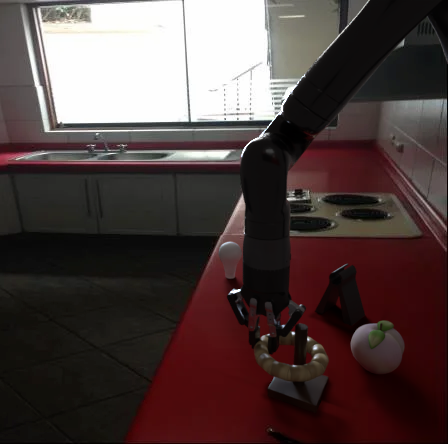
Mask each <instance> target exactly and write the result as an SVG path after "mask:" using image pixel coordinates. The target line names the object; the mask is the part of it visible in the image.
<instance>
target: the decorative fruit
mask: <svg viewBox="0 0 448 444" xmlns="http://www.w3.org/2000/svg"><path fill="white" fill-rule="evenodd" d="M394 327H395V325H394V324H393V322H391V321H389V320H380V321H378V322H377V323H366V324H363V325H361V326H359V327H358V328H356V330H355V332H354V333H353V334H352V337H351V341H350V350H351V353H352V356H353V357H354V359H355V360H356V362H357V363H358V364H359V365H360V366H361V367H362V368H363V369H364V370H365V371H367V372H369V373H371V374H375V375H387V374H390V373H392V372H394V371H395V370H396V369H397V368H399V366H400V364H401V363H402V360H403V355H404V351H405V341H404V338H403V337H402V335H401V334H400V332H399V331H397V329H396V328H394Z"/></svg>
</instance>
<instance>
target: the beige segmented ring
mask: <svg viewBox="0 0 448 444" xmlns="http://www.w3.org/2000/svg"><path fill="white" fill-rule="evenodd" d="M268 336H269V333H267V334H265V335H262V336H260V339H259V341H258V342H257V343H256V345H255V346H254V349H253V354H254V359H255V363H256V364H257V365H258V366H259V367H260V368H261V369H262V370H264V371H265V372H266V373H267V374H268V375H270V376H272V377H273V378H274V377H277V378H280V379H283V380H286V381H298V382H306V381H310V380H312V379H314V378H317V377H319V376H321V375H324V374H325V372H326V370H327V367H328V365H329V362H330V359H329V356H328V355H327V352H326V349H325V348H324V346H323V345H322V344H321V343H319V342H318V341H316V340H315V339H313V338H312V337H310V336H309V335H308V337H307V354H309V355H310V356H311V360H310V362H308V363H307V362H306V364H305V365H293V364H289V365H287V364H288V363H286V364H284V363H285V362H280V361H277V360H276V359H275V358H273V357H272V355H271V354H269V352H268ZM294 339H295V331H292V330H291V331H290V333H289V334H288V335H287V336H286V337H282V336H280V339H279V346H292V347H294Z"/></svg>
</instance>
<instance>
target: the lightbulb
mask: <svg viewBox="0 0 448 444" xmlns="http://www.w3.org/2000/svg"><path fill="white" fill-rule="evenodd" d="M242 257H243V250H242V248H241V246H240V245H239V244H238V243H236V242H234V241H226V242H224V243H222V244H221V245H220V247H219V248H218V258H219V261H221V263H222V266H223V271H224V275H225V276H224V277H225V278H226V279H230V280H232V279H235V278H236V272H237V267H238V264H239V262H240V261H241V259H242Z"/></svg>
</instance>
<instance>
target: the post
mask: <svg viewBox="0 0 448 444" xmlns="http://www.w3.org/2000/svg"><path fill="white" fill-rule="evenodd" d="M294 332H295V339H294V346H293V359H292V361H293V364H292V365H305V364H307V354H308V352H307V337H308V336H309V335H308V334H309V326H308V325H307V324H305V323H301V322H299V323H296V325H295V326H294ZM283 363H284V364H287V365H290V364H289V363H285V362H283ZM328 381H329V376H328V375H324V374H323V375H321V376H319V377H317V378H314V379H312V380H310V381H306V382H298V381H286V380H283V379H280V378H277V377H274V376H273V379H272V381H270V382H271V383H270V384H269V386H268V387H267V396H268V397H269V398H272V399H275V400H278V401H281V402H284V403H286V404H289V405H292V406H295V407H298V408H300V409H303V410H306V411H308V412H311V413H314V414H317V412H318V410H319V407H320V404H321V402H322V400H321V398H322V395H323V393H324V391H325V389H326V385H327V384H328Z"/></svg>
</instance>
